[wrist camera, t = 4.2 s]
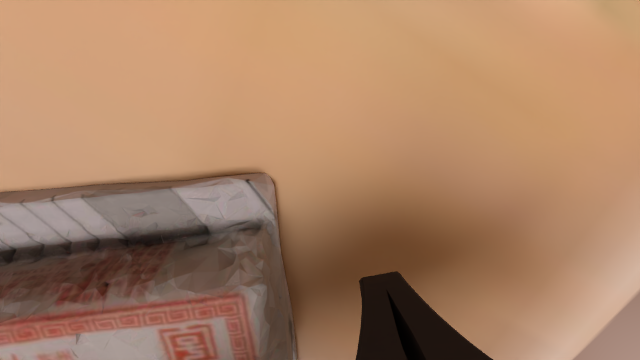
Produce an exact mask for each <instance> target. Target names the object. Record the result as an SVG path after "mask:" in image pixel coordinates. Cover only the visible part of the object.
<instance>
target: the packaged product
mask: <svg viewBox="0 0 640 360" xmlns="http://www.w3.org/2000/svg"><path fill="white" fill-rule="evenodd" d="M0 360H297V353H296V343H295V334H294V324H293V315H292V307H291V302H290V297H289V291H288V286H287V281H286V276H285V271H284V266H283V260H282V255H281V248H280V237H279V227H278V218H277V208H276V198H275V188H274V184H273V182H272V180H271V178H270V176H268V175H267V174H266V173H253V174H243V175H233V176H223V177H212V178H202V179H194V180H188V181H166V182H144V183H122V184H102V185H90V186H81V187H67V188H54V189H41V190H28V191H12V192H0Z"/></svg>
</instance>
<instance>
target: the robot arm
mask: <svg viewBox="0 0 640 360" xmlns="http://www.w3.org/2000/svg"><path fill="white" fill-rule="evenodd" d="M359 283H360V290H361V297H362V316H361V329H360V336H359V344H358V350H357V356H356V360H493V359H492V358H490V357H489V356H487V355H486V354H485V353H483V352H482V351H481V350H479V349H478V348H477V347H475V346H474V345H473V344H472V343H470V342H469V341H468V340H467V339H465V338H464V337H463V336H462V335H460V334H459V333H458V332H457V331H456V330H455V329H454V328H452V327H451V326H450V325H449V324H448V323H447V322H446V321H444V320H443V319H442V318H441V317H440V316H439V315H438V314H437V313H436V312H435V311H434V310H433V309H432V308H431V307H430V306H429V305H428V304H427V303H426V302H425V301H424V300H423V299H422V298H421V297H420V296H419V295H418V294H417V293H416V292H415V291H414V290H413V289H412V288H411V286H410V285H409V284H408V283H407V282H406V281H405V279H404V278H403V277H402V276H401V275H400V273H398V272H397V271H396V272H391V273H385V274H380V275H374V276H369V277H363V278H361V279H360V281H359Z"/></svg>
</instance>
